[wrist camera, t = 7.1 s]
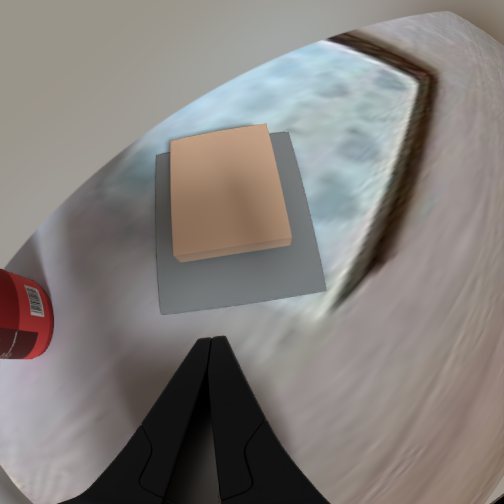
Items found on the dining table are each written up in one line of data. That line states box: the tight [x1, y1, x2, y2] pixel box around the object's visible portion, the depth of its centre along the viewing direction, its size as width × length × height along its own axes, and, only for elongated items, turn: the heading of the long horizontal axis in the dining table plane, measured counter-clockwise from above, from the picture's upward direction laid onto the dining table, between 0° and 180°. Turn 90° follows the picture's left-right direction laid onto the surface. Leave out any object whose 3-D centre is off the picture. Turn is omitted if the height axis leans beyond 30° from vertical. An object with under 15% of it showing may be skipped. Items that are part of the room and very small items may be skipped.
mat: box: [155, 132, 327, 315], centre depth 22 cm, size 14×12×1 cm
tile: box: [170, 124, 292, 262], centre depth 21 cm, size 2×8×10 cm
